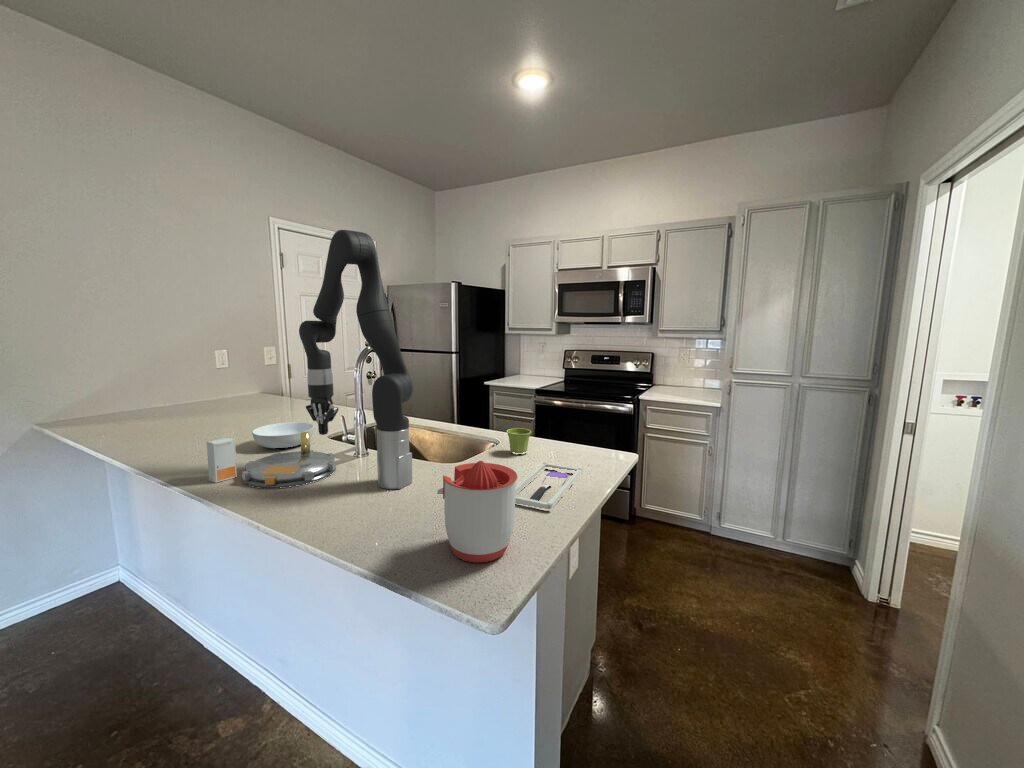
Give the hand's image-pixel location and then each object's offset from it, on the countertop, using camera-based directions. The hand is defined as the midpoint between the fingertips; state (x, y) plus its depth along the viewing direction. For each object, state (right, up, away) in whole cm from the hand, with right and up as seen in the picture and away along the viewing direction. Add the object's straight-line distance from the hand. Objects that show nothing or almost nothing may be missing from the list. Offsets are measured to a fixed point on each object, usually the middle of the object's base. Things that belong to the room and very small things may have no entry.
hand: (323, 434), depth 139 cm
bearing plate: (-7, -12, -6) cm, 15 cm away
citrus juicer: (+55, -19, -48) cm, 75 cm away
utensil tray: (+73, -15, -13) cm, 76 cm away
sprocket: (-7, -10, -6) cm, 14 cm away
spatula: (+72, -16, -15) cm, 76 cm away
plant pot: (+65, -10, +20) cm, 69 cm away
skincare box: (-25, -12, -13) cm, 30 cm away
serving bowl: (-25, -7, +22) cm, 34 cm away
